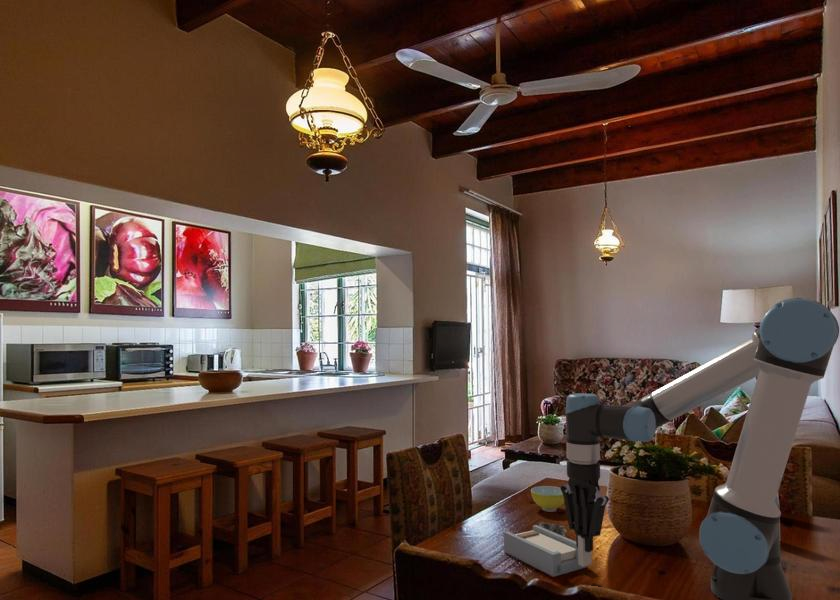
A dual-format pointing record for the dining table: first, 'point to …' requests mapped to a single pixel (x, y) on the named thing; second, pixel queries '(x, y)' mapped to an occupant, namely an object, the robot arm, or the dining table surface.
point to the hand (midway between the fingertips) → (584, 564)
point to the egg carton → (554, 528)
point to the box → (541, 552)
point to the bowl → (548, 497)
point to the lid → (549, 544)
